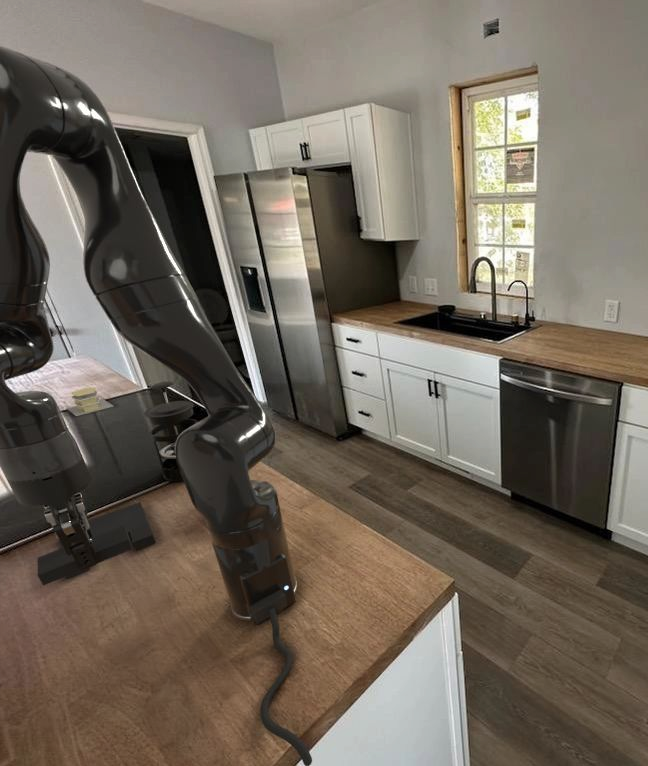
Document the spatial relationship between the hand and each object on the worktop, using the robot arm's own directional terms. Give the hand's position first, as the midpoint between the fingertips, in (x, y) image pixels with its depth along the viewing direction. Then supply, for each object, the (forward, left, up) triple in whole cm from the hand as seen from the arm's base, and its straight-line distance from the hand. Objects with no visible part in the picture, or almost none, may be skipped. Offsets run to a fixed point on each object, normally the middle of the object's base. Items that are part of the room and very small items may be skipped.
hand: (88, 555), depth 65 cm
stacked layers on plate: (+97, -5, -8) cm, 98 cm away
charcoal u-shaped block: (+15, -2, -8) cm, 17 cm away
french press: (+32, -18, -8) cm, 38 cm away
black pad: (0, 0, 0) cm, 0 cm away
